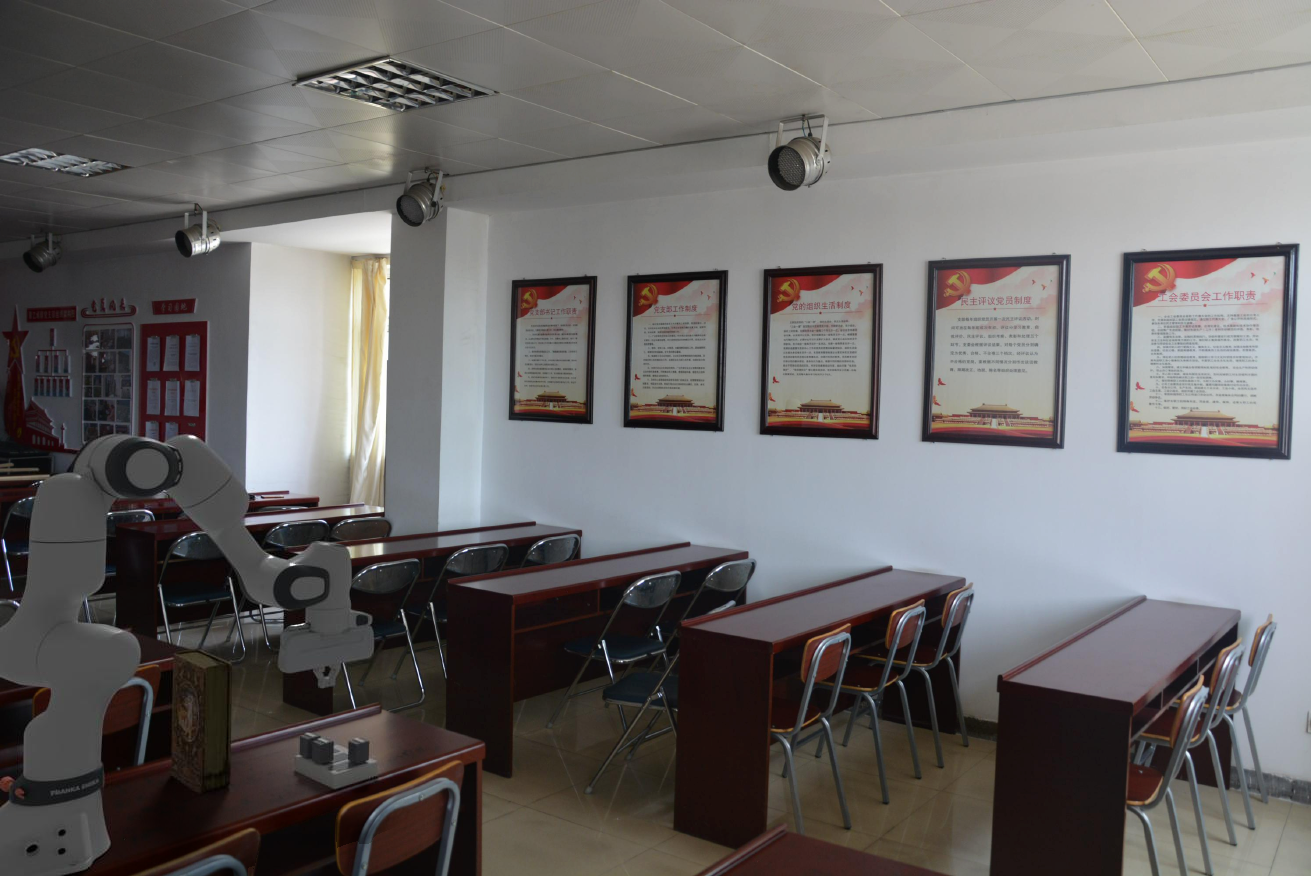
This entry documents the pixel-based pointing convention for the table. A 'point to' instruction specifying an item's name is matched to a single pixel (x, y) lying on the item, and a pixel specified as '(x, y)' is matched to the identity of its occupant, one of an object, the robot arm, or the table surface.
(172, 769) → the book
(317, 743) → the tab middle
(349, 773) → the switch panel
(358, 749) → the tab
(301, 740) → the tab
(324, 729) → the table surface
